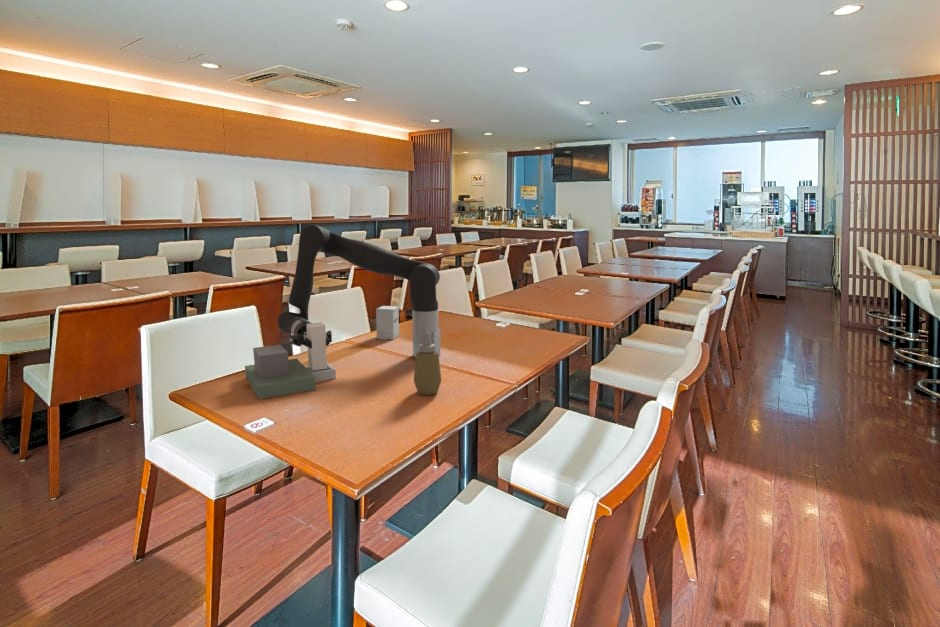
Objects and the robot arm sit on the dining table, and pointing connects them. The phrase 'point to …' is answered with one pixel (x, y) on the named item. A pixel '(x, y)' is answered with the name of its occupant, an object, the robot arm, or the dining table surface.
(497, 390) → the dining table surface
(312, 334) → the tall white pillar block
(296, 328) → the robot arm
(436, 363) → the squeeze bottle
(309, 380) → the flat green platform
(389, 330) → the supplement box
